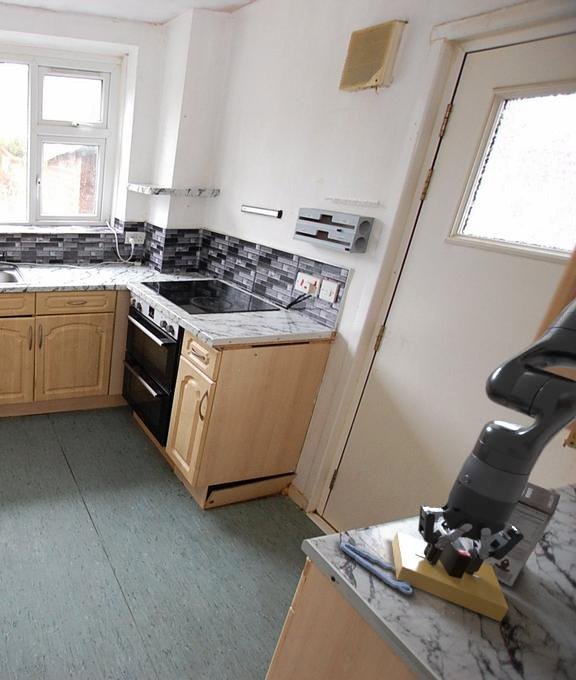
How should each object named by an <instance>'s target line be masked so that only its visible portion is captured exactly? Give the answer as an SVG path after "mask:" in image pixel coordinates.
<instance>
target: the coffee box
mask: <svg viewBox="0 0 576 680" xmlns="http://www.w3.org/2000/svg"><path fill="white" fill-rule="evenodd" d="M560 498H561V494H560V493H558V492H555V491H553V490H550V489H547V488H544V487H541V486H540V485H538V484H535V483H532V482H529V481H528V483H527V486H526V488H525V490H524V492H523V494H522V495H521V497H520V499H519V501H518V503H517V505H516V507H515V508H514V510H513V512H512V514H511V516H510V518H509V520H508V521H507V522H505V524H508V523H512V524H514V525H515V527H516V528H517V529H518V530H519V531H520V532H521V533H522V534H523V535H524V538H523V539H522V540H521V541H520V542H519V543H518V544H517V545H516V546H515V547H514V548H513V549H512V550H511V551H510V552H509V553H508V554H507V555H505V556H504V557H503V558H502V559H501V560H497V559H495V558H493V557H489V558H488V559H486V560H484V561H483V563H485V564H488V565H491V566H492V567H493V570H494V572H495V575H496V577H497V580H498V582H499V581H500V582H501V583H503V584H505V585H507V586H509V587H513V586H514V583H515V582H516V580H517V579H518V577H519V575H520V574H521V572H522V570H523V568H524V566H526V563H527V562H528V560H529V558H530V556H531V555H532V554H533V552H534V550H535V549H536V546H537V545H538V543H539V541H540V540H541V538H542V536H543V534H544V532H545V531H546V529H547V527H548V525H549V524H550V522H551V521H552V519H553V517H554V515H555V513H556V510H557V508H558V505H559V502H560ZM496 534H497V533H496ZM496 534H494V535H491V536H490V541H491V540H492V538H493V537H494V536H495V535H496ZM499 547H500V546H499ZM499 547H498V548H499ZM498 548H497V549H498Z"/></svg>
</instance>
